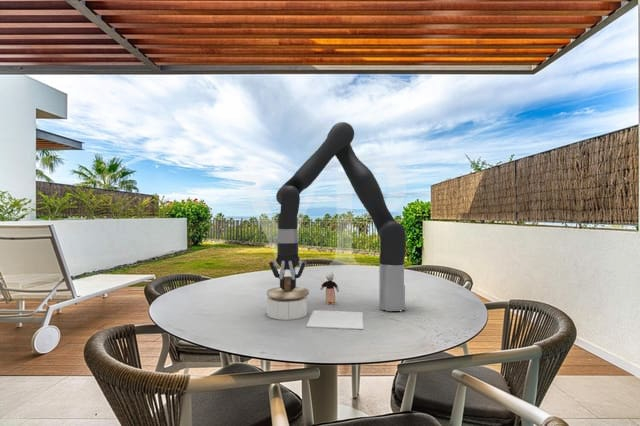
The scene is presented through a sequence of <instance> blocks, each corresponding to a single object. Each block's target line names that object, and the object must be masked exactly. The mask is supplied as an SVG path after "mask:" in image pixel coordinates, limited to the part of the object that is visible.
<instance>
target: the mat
mask: <svg viewBox="0 0 640 426" xmlns="http://www.w3.org/2000/svg"><path fill="white" fill-rule="evenodd" d="M363 313H364V312H362V311H340V310H339V311H336V310H313V311H312V313H311V315H310V317H309V320H308V321H307V322H306V323H307V324H306V326H305V328H312V329H313V328H314V329H332V328H333V329H335V328H337V330H339V329H340V330H356V329H363V330H364V315H363Z"/></svg>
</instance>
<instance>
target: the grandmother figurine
mask: <svg viewBox="0 0 640 426" xmlns="http://www.w3.org/2000/svg"><path fill="white" fill-rule="evenodd" d="M334 274H335V273H333V272H331V271H329V272H327V273H326V275H325V278H326V279H327V280H326V281H323V282H322V284H321V287H320V288H319V289H320V290H321V291H323V289H324V288H325V305H331V304H332V305H333V306H334V305H337V304H338V302H336V293H335V290H336V292H337V293H339V292H340V289H339V286H338V284H337V283H336V282H335V281H334V277H335V276H334Z"/></svg>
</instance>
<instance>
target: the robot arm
mask: <svg viewBox="0 0 640 426" xmlns="http://www.w3.org/2000/svg"><path fill="white" fill-rule="evenodd" d="M354 138H355V130H354V127H353V126H352V124H350V123H348V122H345V121H340V122H337V123H335V124H334V125H332V127H331V128H330V130H329V132H328V134H327V137H326V139H325V140H324V141H323V143H322V144H321V145H320V146H319V147H318V148H317V150H316V151H314V152H313V154H312V155H311V156H309V157H308V159H307V160H306V161H304V163H303V164H302V165H301V166H300V167H299V168H298V169H297V171H295V173H294V174H293V175H292V176H291V177H290V179H288V180H287V181H286V182H284V184H282V186H281V187H280V188H279V189H278V191H277V192H276V193H275V194H276V195H275V196H276V199H275V200H276V201H277V203H278V204H279V205H280V213H279V214H278V217H277V235H276V237H277V238H276V242H277V244H276V245H277V246H276V249H277V252H276V255H277V257H276V259H274V260H272V261H270V262H269V263H268V264H269V267H270V269H271V271H272V274H273V276H274V277H275V278H277V279H278V280H279V287H280V288H282V290H284V277H285V273H286V270H288V271H290V277H292V280H291V290H294V288H295V287H297V279H299V278H300V277H301V276H302V274H303V272H304V269H305V268H306V266H307V261H303V260H301V259H300V257H299V233H298V232H299V231H298V215H299V209H300V202H301V199H300V197H301V196H300V194H301V193H302V192H303V191H305V190H306V189H307V188H309V187H310V186H311V185H312V184H313V183H314V181H315V180H316V179H317V178H318V177H319V176H320V175H321V173H322V171H324V169H325V168H326V167H327V166H328V164H329V162H331V160H332V159H333V158H334V157H335V158H336V159H337V160H338V162H339V164H340V166H341V167H342V169H343V171H344V173H345V175H346V177H347V178H348V180H349V182H350V185H351V187H352V188H353V191H354V192H355V194H356V196H357V198H358V199H359V201H360V202H361V204H362V206H363V207H364V209H365V210H366V212H367V213H368V215H369V216H370V218H371V220H372V222H373V224H374V227H375V229H376V232H377V235H378V237H379V239H380V242H379V243H380V247H379V248H380V249H379V250H380V252H379V259H378V260H379V263H378V264H379V265H378V266H379V271H378V272H379V274H378V276H379V278H378V279H379V281H378V282H379V283H378V286H379V287H378V288H379V289H378V291H379V293H378V299H379V302H378V305H379V308H380V309H379V310H381V309H382V310H381V311H383V310H386V311H385V312H387V311H400V310H405V311H406V285H405V258H406V244H407V243H406V240H407V239H406V238H407V237H406V235H407V234H406V231H405V228H404V227H403V225H402V224H400V223H399V222H397V221H396V219H395V218H394V217H393V215H392V213H391V212H390V211H389V209H388V206H387V203H386V200H385V197H384V194H383V192H382V189H381V186H380V185H379V182H378V181H377V179H376V177H375V176H374V173H373V171H372V170H370V168H368V166H366V164H364V163H363V162H362V161H361V160H360V159H359V157H358V156H357V155H356V153H355V151H354V149H353V146H352V145H351V143H352V142H353V141H354ZM277 265H278V266H279V267H280V269H279V271H278V269H277ZM297 265H298V267H299V270H298V272H296V267H297ZM296 273H297V274H296ZM400 312H401V311H400Z"/></svg>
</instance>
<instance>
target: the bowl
mask: <svg viewBox="0 0 640 426" xmlns="http://www.w3.org/2000/svg"><path fill="white" fill-rule="evenodd" d="M285 300H290V301H285ZM266 315H267V316H268V318H271V319H275V320H279V321H282V320H283V321H284V320H285V321H289V320H290V321H291V320H298V319H301V318H305V317H306V316H307V315H308V295H307V296H305V297H301V298H294V299H278V298H272V297H269V296H267V298H266Z"/></svg>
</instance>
